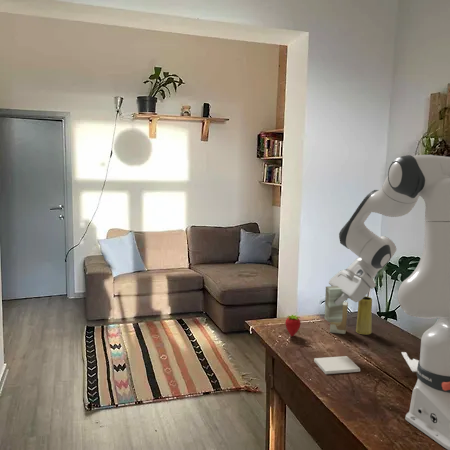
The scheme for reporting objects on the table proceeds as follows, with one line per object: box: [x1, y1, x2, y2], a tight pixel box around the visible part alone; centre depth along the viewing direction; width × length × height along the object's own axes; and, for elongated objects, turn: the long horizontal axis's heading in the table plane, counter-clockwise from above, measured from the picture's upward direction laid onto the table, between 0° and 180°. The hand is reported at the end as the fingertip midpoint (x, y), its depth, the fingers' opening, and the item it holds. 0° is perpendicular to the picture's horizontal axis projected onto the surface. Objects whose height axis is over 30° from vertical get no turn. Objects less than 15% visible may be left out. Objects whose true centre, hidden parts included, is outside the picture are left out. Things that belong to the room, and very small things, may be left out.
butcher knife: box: [401, 351, 420, 373], centre depth 156 cm, size 5×15×1 cm, turn 171°
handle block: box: [324, 285, 343, 323], centre depth 163 cm, size 4×5×12 cm
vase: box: [355, 295, 373, 336], centre depth 183 cm, size 6×6×14 cm
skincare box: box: [329, 301, 349, 335], centre depth 183 cm, size 6×4×12 cm
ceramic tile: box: [313, 355, 361, 375], centre depth 152 cm, size 10×12×1 cm
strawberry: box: [285, 313, 302, 338], centre depth 178 cm, size 6×8×10 cm
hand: (332, 301), depth 163 cm, fingers closed on handle block, 4 cm apart
